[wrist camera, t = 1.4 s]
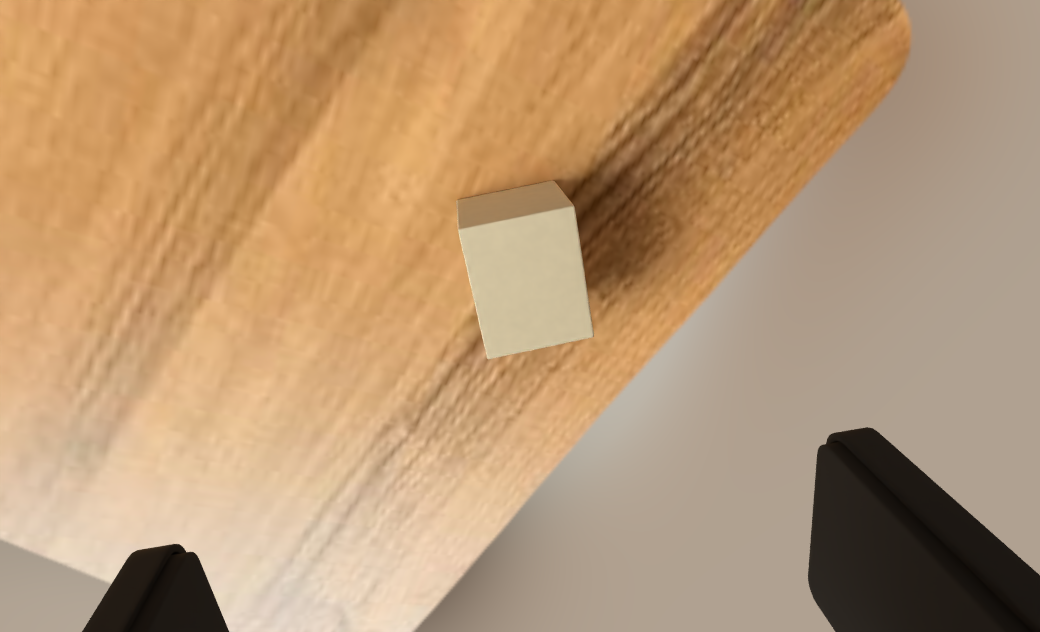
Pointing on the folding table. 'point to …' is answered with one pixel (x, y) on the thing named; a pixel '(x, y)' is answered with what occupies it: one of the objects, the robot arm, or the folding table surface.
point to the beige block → (525, 268)
